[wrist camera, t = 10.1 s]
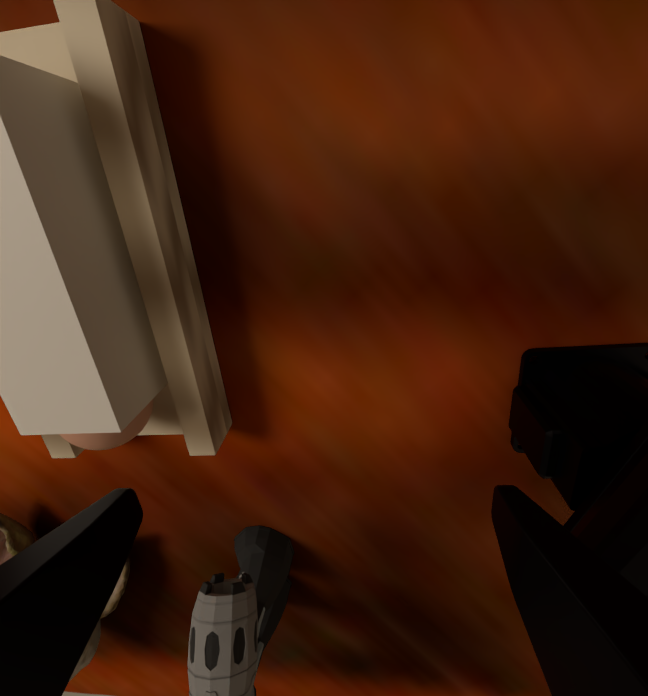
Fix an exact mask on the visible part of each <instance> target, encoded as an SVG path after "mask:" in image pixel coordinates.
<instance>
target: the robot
mask: <svg viewBox="0 0 648 696" xmlns="http://www.w3.org/2000/svg"><path fill="white" fill-rule="evenodd" d="M234 541H235V552H236V555H237V559H238V562H239V566H240V568H241V570H240V572H239V574H238V576H237V578H234V579H224V573H219V574H215V575H213V576H212V579H211V581H210V582H208V581H207V582H204V583H203V585H202V587H201V589H200V591H199V593H198V596H197V600H196V603H195V606H194V610H193V613H192V621H191V629H190V638H189V651H188V677H189V688H190V691H189V695H190V696H256V689H255V687H254V680H255V676H256V672H257V669H258V666H259V662H260V659H261V656H262V652H263V650H264V648H265V647H266V645H267V643H268V641H269V640H270V638H271V636H272V634H273V633H274V631H275V629H276V627H277V625H278V623H279V621H280V619H281V616H282V614H283V611H284V609H285V606H286V603H287V600H288V599H287V598H288V594H289V590H290V586H291V583H292V582H291V581H290V580H289V579H288V578H287V576H288V574H289V571H290V565H291V562H292V557H293V555H294V550H293V547H292V544H291V541H290V538H288V537H286V536H284V535H282V534H280V533H279V532H277V531H275V530H273V529H271V528H268V527H263V526H253V527H246V528H245V529H244V530H243V531H241V532H240V533H239V534H238V535H237V536H236V537H235V539H234Z"/></svg>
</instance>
